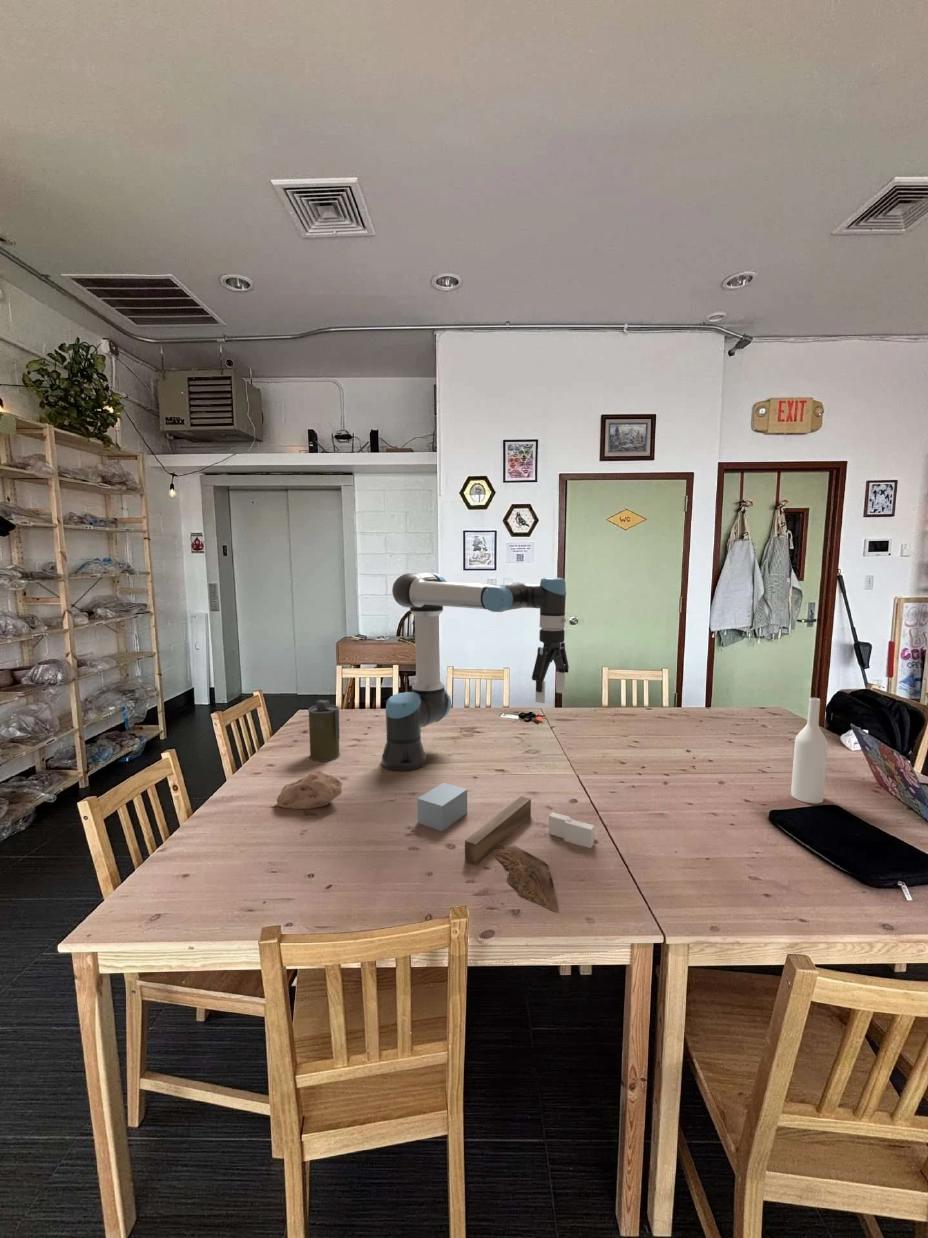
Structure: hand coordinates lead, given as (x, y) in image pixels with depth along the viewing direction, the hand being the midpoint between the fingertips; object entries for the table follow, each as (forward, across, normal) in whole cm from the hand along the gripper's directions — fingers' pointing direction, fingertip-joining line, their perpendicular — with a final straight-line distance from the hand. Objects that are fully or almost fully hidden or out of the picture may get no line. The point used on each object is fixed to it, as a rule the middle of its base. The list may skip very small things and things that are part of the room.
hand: (550, 697), depth 166 cm
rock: (+28, -53, +49) cm, 77 cm away
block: (+28, -37, +13) cm, 48 cm away
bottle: (+28, +36, -67) cm, 80 cm away
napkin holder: (+28, -26, -19) cm, 43 cm away
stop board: (+28, -36, -5) cm, 46 cm away
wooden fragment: (+28, -47, -19) cm, 58 cm away
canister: (+28, -26, +75) cm, 84 cm away
